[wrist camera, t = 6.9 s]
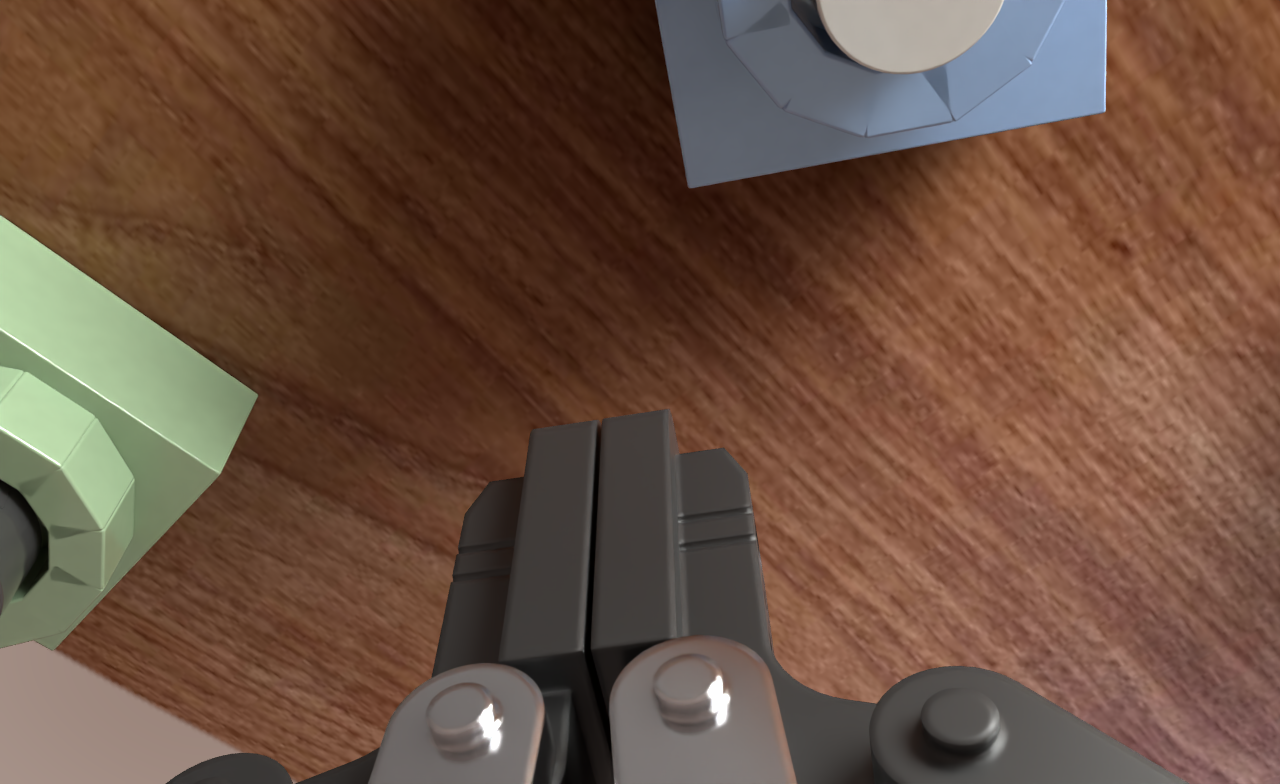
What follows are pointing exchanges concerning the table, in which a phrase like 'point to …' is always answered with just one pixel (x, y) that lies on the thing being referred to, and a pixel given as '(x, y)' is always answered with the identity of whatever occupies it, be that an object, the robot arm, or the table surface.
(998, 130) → the blue push button base
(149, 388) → the light green square block
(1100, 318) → the table surface
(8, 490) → the dark grey button cap
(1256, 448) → the table surface
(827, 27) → the white push button
